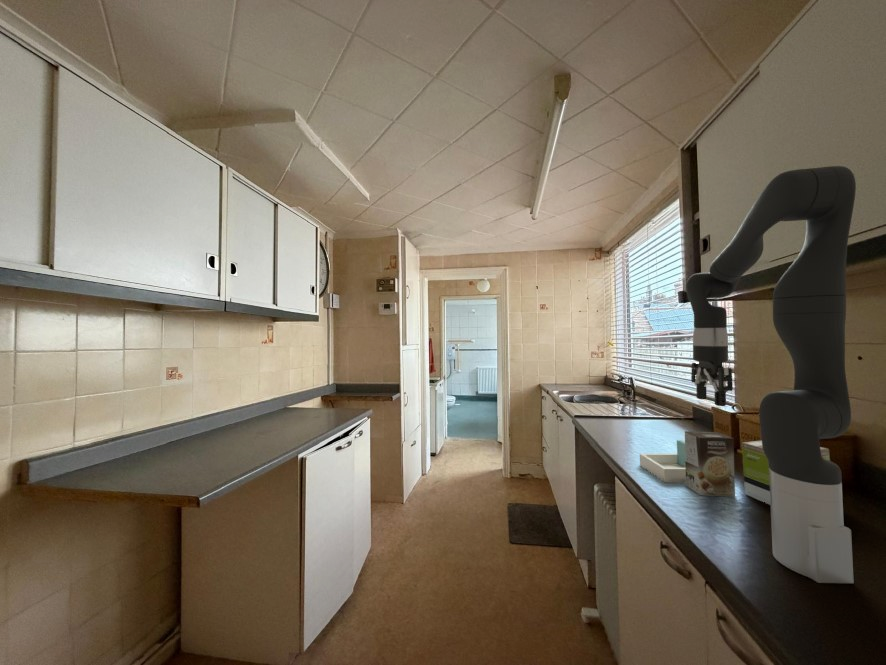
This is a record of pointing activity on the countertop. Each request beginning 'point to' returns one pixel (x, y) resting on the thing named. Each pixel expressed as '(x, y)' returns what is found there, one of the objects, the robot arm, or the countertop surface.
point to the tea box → (760, 470)
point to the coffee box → (709, 463)
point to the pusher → (681, 452)
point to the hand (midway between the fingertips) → (710, 402)
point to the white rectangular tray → (664, 467)
